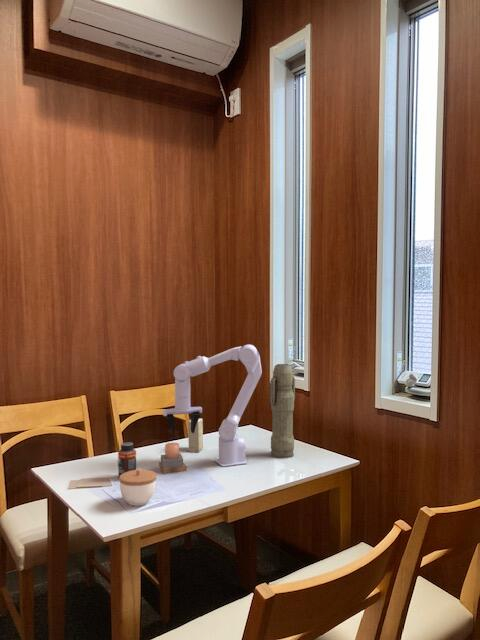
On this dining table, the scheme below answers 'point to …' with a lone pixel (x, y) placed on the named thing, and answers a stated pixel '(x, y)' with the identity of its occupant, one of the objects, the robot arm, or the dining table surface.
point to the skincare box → (196, 436)
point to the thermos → (282, 411)
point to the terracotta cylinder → (171, 450)
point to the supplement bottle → (126, 458)
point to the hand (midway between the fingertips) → (182, 433)
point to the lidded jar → (138, 486)
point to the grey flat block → (172, 461)
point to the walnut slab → (172, 469)
